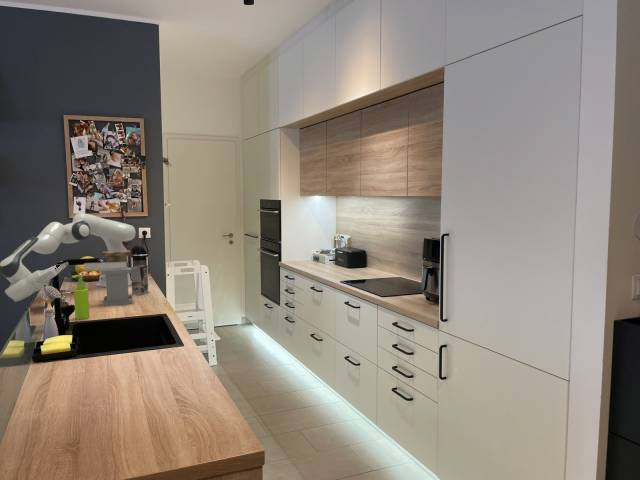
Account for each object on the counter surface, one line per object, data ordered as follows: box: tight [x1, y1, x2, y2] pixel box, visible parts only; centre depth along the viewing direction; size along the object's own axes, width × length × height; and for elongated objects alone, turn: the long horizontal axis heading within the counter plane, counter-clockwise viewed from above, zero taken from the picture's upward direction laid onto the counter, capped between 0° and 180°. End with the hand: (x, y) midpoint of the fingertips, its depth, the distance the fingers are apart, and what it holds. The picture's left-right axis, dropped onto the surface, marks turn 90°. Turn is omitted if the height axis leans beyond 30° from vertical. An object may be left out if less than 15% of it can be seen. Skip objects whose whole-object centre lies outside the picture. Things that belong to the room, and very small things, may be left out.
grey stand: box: [100, 267, 133, 307], centre depth 260 cm, size 14×8×18 cm, turn 110°
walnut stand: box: [101, 249, 133, 300], centre depth 270 cm, size 14×8×26 cm, turn 110°
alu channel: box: [83, 261, 127, 272], centre depth 257 cm, size 20×4×4 cm, turn 110°
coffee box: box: [130, 264, 149, 296], centre depth 286 cm, size 9×6×16 cm
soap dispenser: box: [71, 274, 90, 320], centre depth 229 cm, size 6×7×20 cm
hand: (66, 264), depth 251 cm, fingers open, 8 cm apart
